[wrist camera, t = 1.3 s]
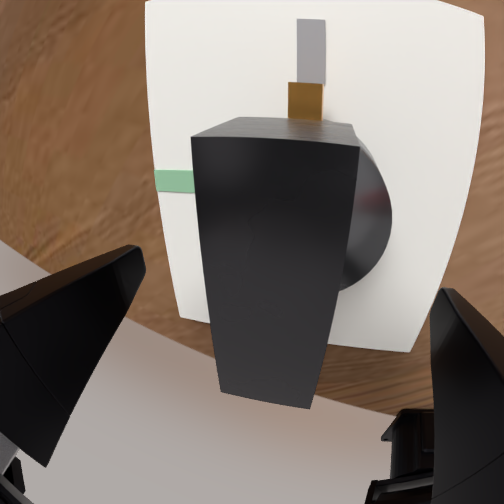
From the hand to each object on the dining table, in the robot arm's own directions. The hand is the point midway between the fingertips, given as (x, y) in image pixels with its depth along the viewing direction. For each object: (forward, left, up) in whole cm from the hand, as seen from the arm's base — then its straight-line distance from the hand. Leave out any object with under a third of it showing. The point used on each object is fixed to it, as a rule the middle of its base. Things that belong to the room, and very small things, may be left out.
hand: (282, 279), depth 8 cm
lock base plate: (0, 0, -8) cm, 8 cm away
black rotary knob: (+1, 0, -7) cm, 7 cm away
